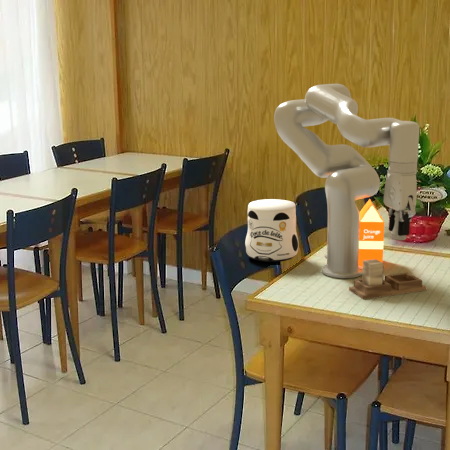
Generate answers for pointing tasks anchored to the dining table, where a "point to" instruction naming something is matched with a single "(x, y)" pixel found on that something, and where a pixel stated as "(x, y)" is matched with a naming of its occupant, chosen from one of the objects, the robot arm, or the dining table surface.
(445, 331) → the dining table surface
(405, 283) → the wooden compartment tray
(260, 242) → the milk container
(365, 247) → the orange juice
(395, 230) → the rook chess piece
